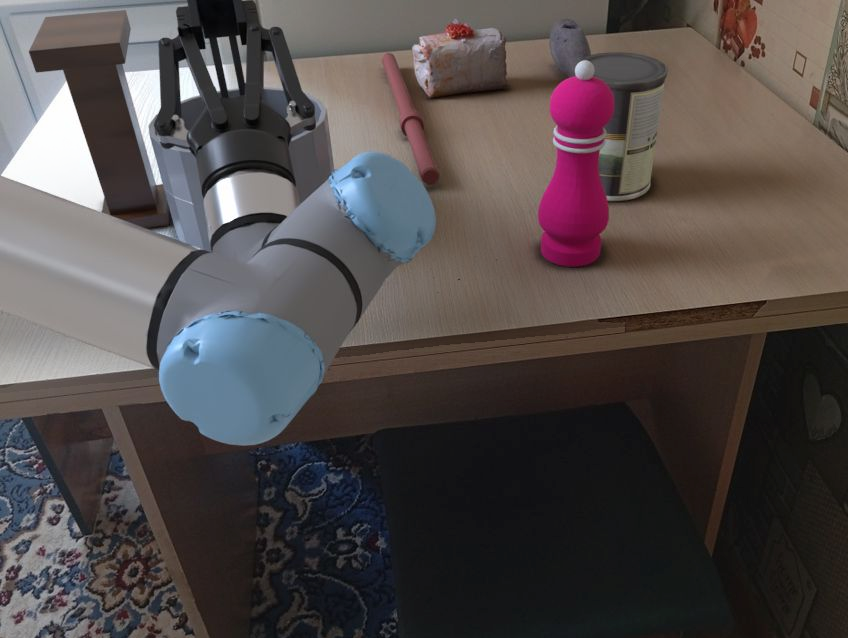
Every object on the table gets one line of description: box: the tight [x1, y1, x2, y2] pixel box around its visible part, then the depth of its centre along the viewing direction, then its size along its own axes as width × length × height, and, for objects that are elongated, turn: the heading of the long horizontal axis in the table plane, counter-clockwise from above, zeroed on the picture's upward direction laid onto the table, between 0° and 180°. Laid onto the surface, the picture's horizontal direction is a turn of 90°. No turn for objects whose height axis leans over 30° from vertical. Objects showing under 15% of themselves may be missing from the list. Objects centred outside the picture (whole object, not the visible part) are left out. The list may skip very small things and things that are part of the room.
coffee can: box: [574, 51, 669, 202], centre depth 92 cm, size 10×10×14 cm
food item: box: [411, 18, 508, 98], centre depth 120 cm, size 14×8×10 cm, turn 106°
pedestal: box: [28, 9, 170, 229], centre depth 84 cm, size 12×8×21 cm, turn 16°
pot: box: [148, 86, 335, 252], centre depth 86 cm, size 18×18×12 cm
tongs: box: [197, 0, 246, 98], centre depth 77 cm, size 16×3×3 cm
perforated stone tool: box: [548, 18, 592, 79], centre depth 125 cm, size 15×5×7 cm, turn 6°
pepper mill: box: [537, 60, 614, 268], centre depth 77 cm, size 7×7×20 cm
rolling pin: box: [381, 52, 440, 186], centre depth 112 cm, size 45×3×3 cm, turn 11°
